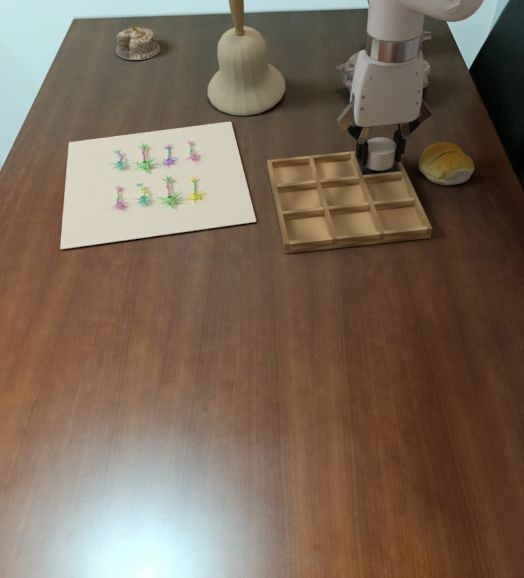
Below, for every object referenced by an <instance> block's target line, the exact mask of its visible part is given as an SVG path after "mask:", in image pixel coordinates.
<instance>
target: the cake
mask: <svg viewBox="0 0 524 578" xmlns="http://www.w3.org/2000/svg"><path fill="white" fill-rule="evenodd" d="M158 41H159V40H158V38H157V36H156V34H155V32H154V31H153V30H152V29H150V28H146V27H140V26H138V27H137V26H133V27H128V28H127V29H123V30H121V31H119V32H118V33H117V35H116V42H117V44H116V48H115V54H116V55H117V56H118V57H120V58H122V59H124V60H129V61H140V60H147V59H150V58H153V57H155V56H157V55H158V54H159V53H160V52H161V46H160V45H159V43H158Z"/></svg>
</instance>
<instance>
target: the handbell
mask: <svg viewBox="0 0 524 578" xmlns="http://www.w3.org/2000/svg"><path fill="white" fill-rule="evenodd" d="M228 5H229V10H230V11H229V12H230V15H231V19H232V23H233V25H234V26H233V27H232V28H229V29H228V30H226V31H225V32H224V33H223V34H222V35H221V37H220V39H219V41H218V43H217V47H216V48H217V49H216V50H217V51H216V57H217V62H218V67H219V70H218V71H217V72H215V73H214V75H213V76H212V78H211V80H210V81H209V83H208V85H207V97H208V99H209V101H210V103H211V105H212V106H213V107H215V108H216V109H217V110H219V111H220V112H222V113H225V114H228V115H231V116H238V117H249V116H254V115H259V114H261V113H264V112H266V111H268V110H271V109H272V108H273V107H274V106H276V104H278V103H279V102H280V101H281V100H282V98H283V96H284V94H285V92H286V79H285V78H284V76H283V75H282V73H281V71H280V70H279V69H278V68H276V67H275V66H273V65H271V64H270V63H269V60H268V45H267V42H266V40H265V38H264V37H263V35H262V33H261V32H260V31H259V30H257V29H255V28H254V27H252V26H251V27H250V26H248V25H245V23H244V22H245V21H244V20H245V1H244V0H228Z"/></svg>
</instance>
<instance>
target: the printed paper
mask: <svg viewBox="0 0 524 578" xmlns="http://www.w3.org/2000/svg"><path fill="white" fill-rule="evenodd" d="M237 143H238V142H237V140H236V135H235V131H234V126H233V123H232V121H224V122H223V121H222V122H215V123H208V124H200V125H193V126H185V127H177V128H170V129H161V130H152V131H146V132H138V133H130V134H122V135H115V136H107V137H106V136H105V137H99V138H98V137H97V138H93V139H92V138H91V139H82V140H76V141H69V142H68V148H67V160H66V172H65V173H66V174H65V184H64V194H63V195H64V196H63V207H62V208H63V209H62V220H61V221H62V222H61V233H60V245H59V250H65V249H66V250H67V249H73V248H80V247H86V246H87V247H88V246H94V245H101V244H108V243H109V244H110V243H115V242H122V241H130V240H136V239H144V238H151V237H156V236H157V237H158V236H165V235H173V234H179V233H185V232H194V231H201V230H208V229H214V228H222V227H228V226H235V225H242V224H243V225H244V224H249V223H256V222H257V218H256V213H255V210H254V206H253V203H252V198H251V195H250V191H249V186H248V182H247V179H246V174H245V171H244V167H243V162H242V158H241V155H240V151H239V148H238V144H237Z"/></svg>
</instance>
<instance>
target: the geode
mask: <svg viewBox="0 0 524 578" xmlns="http://www.w3.org/2000/svg"><path fill="white" fill-rule="evenodd" d="M360 51H361V50H359V51H358V52H356V53H354V54H353V55H352V56H350V58H349V59H348V60H347V61H346V62H343V63H341V64H340V65H337V66H336V68H335V70H336V72H340V73H341V76H342V78H343V81H342V84H343V85H345V88H347V89H348V92H349V94H351V88H352V81H353V76H354V71H355V66H356V62H357V58H358V55H359V52H360ZM431 74H432V73H431V65H430V63H429V61H427V60H426V59H423V89H425V88H426V87H428V85H429V78H428V77H430V75H431Z"/></svg>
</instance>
